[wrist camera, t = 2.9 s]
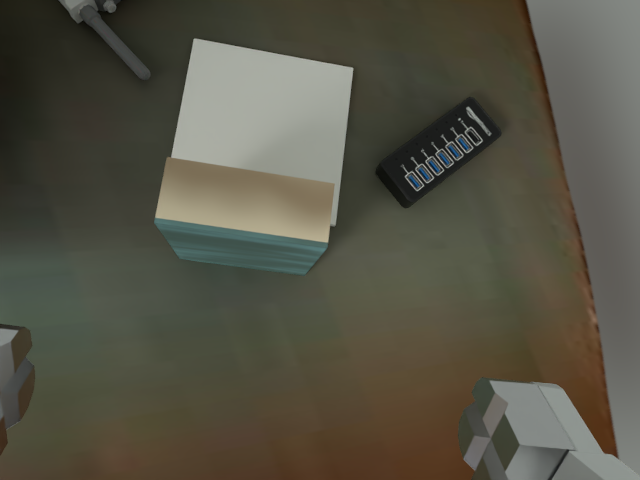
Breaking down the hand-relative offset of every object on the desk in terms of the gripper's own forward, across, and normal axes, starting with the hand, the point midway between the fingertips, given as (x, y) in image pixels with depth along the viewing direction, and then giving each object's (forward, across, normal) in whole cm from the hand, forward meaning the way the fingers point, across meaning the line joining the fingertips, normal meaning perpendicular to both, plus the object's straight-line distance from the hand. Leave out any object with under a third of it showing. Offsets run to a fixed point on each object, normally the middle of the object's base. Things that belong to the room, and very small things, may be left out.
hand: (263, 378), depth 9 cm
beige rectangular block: (+30, -1, -14) cm, 33 cm away
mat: (+36, -1, -7) cm, 37 cm away
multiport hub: (+36, +15, -7) cm, 40 cm away
